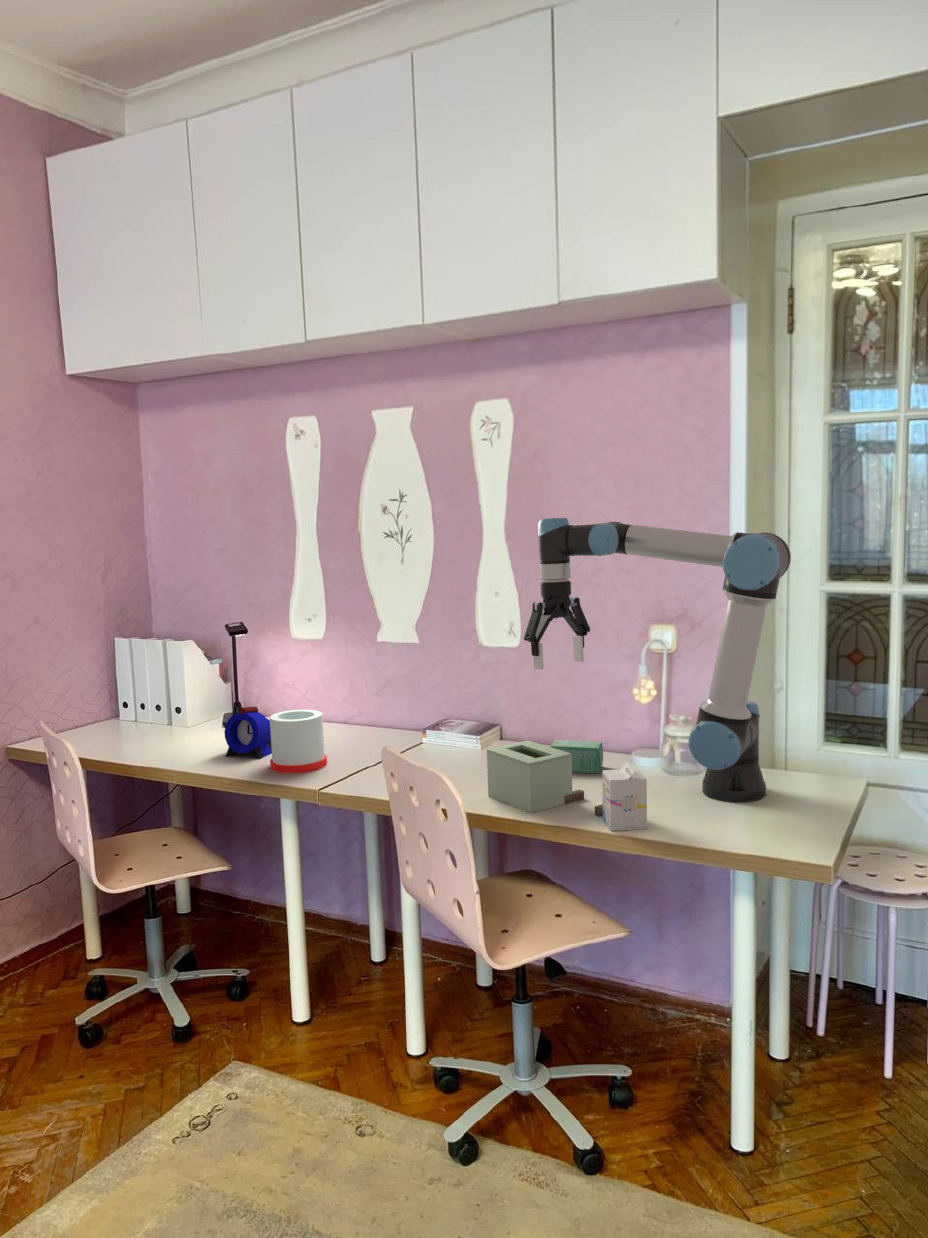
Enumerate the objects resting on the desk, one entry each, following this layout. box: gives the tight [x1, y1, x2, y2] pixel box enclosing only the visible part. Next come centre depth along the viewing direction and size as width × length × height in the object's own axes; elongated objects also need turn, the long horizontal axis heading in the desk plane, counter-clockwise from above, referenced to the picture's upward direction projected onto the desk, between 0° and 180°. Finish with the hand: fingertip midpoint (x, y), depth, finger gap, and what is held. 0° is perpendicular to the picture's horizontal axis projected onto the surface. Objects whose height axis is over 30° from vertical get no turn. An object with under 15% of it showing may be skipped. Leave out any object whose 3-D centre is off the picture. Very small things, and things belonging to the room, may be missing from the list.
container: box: [269, 709, 328, 774], centre depth 271 cm, size 16×16×15 cm
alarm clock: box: [224, 706, 272, 760], centre depth 286 cm, size 12×12×15 cm
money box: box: [486, 740, 573, 814], centre depth 234 cm, size 17×13×12 cm
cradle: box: [564, 789, 603, 818], centre depth 227 cm, size 14×6×2 cm, turn 35°
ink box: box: [602, 761, 648, 832], centre depth 214 cm, size 9×8×13 cm
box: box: [550, 739, 604, 775], centre depth 258 cm, size 7×14×8 cm, turn 75°
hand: (559, 665), depth 238 cm, fingers open, 13 cm apart
